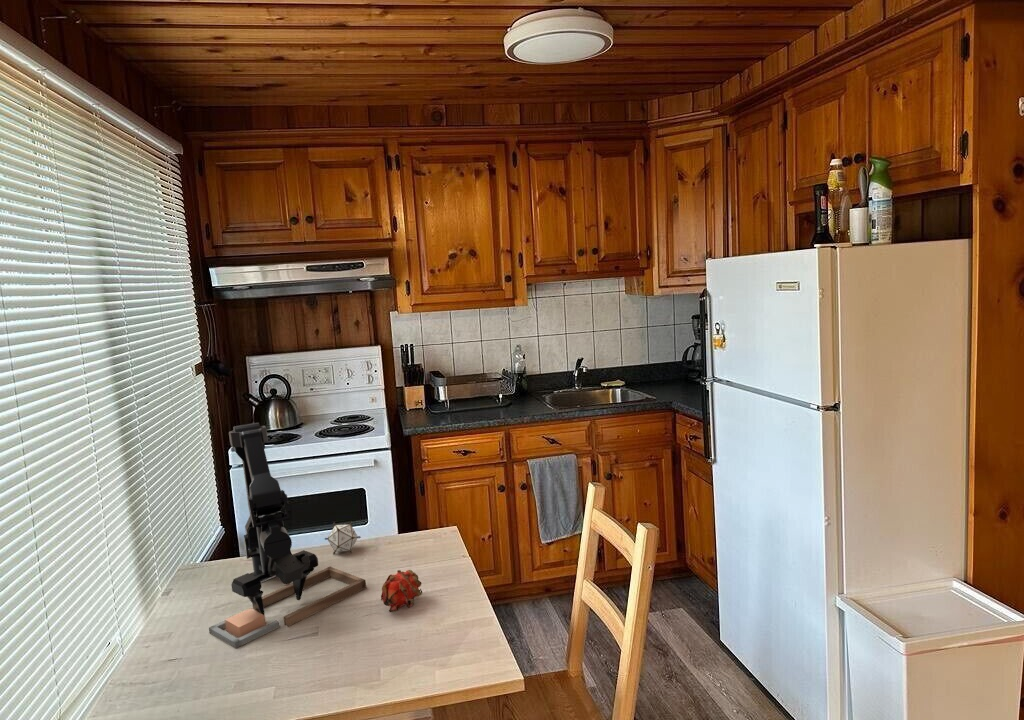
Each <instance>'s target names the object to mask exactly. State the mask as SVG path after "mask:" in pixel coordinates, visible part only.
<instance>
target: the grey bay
mask: <svg viewBox="0 0 1024 720" xmlns="http://www.w3.org/2000/svg"><path fill="white" fill-rule="evenodd" d="M251 609H253V607H251ZM253 610H255V609H253ZM280 627H281V626H280V621H279V620H277V619H276V620H275V619H274V620H273V621H272V622H269V623H266V625H265V626H263V627H261V628H259V629H256V630H254V631H252V632H250V633H248V634H246V635H244V636H242V637H240V638H238V637H236V636H234V635H232V634H231V633H229V632H227V631H225V630H224V629H226V624H225V619H224V620H222V621H220V622H218V623H215V624H213V625H212V626H209V627H208V631H209V633H210V635H213V636H214V637H216V638H218V639H219V640H221V641H223V642H225V643H226V644H228V645H229V646H231V647H233V648H235V649H237V648H239V647H241V646H244V645H245V644H247V643H249V642H251V641H254V640H256V639H258V638H260V637H262V636H264V635H266V634H268V633H270V632H272V631H274V630H276V629H278V628H280Z"/></svg>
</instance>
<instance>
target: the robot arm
mask: <svg viewBox="0 0 1024 720" xmlns="http://www.w3.org/2000/svg"><path fill="white" fill-rule="evenodd" d="M267 432H268V431H267V426H265V425H261V426H260V422H253V423H247V424H240V425H236V426H235V425H234V426H233V430H231V431H229V432H228V436H229V444H230V446H231V447H232V448H233V450H234V452H235V453H236V455H237V456H238V457H239V458H240V459H241V463H242V467H243V468H242V469H243V475H244V482H245V490H246V495H247V505H248V511H249V517H248V519H247V521H246V524H245V526H244V530H245V531H244V532H245V534H243V549H244V554H245V556H246V559H247V560H248V559H250V558H251V562H252V568H253V569H252V570H253V571H252V572H251V573H245V574H242V575H240V576H238V577H235V578H233V579H232V582H231V585H230V586H231V590H232V592H233V593H234V594H237V595H239V596H241V597H243V598H248V599H249V601H250V603H251V604H252V606H253V605H254V607H255V608H256V611H257V612H259V613H261V614H263V615H265V609H264V608H265V607H263V601H262V597H263V594H264V591H263V590H261V589H262V584H263V583H265V582H267V581H269V580H271V579H274V578H278V579H279V581H280V582H281V584H283V585H290V584H292V583H293V587H294V592H295V593H294V595H295V599H296V600H297V601H301V598H302V595H303V591H304V589H303V587H304V583H305V580H306V577H308V576H310V575H311V573H312V572H314V571H315V568H317V567H318V566H319V565H320V564H319V558H318V556H317V554H316V553H313V552H310V551H307V550H301V551H297V552H296V553H292V552H291V549H292V543H293V542H292V541H293V540H292V538H291V536H290V535H289V533H288V530H287V529H286V527H285V525H284V521H289V520H291V518H290V514H291V513H292V512H291V511H292V510H291V507H290V501H289V497H288V495H287V494H286V492H285V490H284V489H281V486H280V483H279V481H278V480H277V479H276V478H275V477H274V476H272V474H271V472H270V468H269V463H268V460H267V459H268V458H267V456H266V452H265V448H266V446H265V445H266V444H265V443H266V442H269V438H268V433H267ZM282 510H283V511H282Z"/></svg>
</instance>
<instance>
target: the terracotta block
mask: <svg viewBox="0 0 1024 720" xmlns="http://www.w3.org/2000/svg"><path fill="white" fill-rule="evenodd" d="M251 608H252V607H251ZM251 608H247V609H245V610H244V611H243V610H242V611H241V612H238V613H237V614H234V615H232V616H229V617H228V618H225V619H224V620H225V624H226V628H225V629H226V631H225V632H227V633H229V634H230V635H232V636H234V637H236V638H240V637H242V636H244V635H246V634H248V633H250V632H252V631H254V630H256V629H259V628H261V627H263V626H265V625H267V623H266V616H265V614H264V615H263V614H261V613H259V612H258V611H257V610H256V611H255V610H253V609H251Z"/></svg>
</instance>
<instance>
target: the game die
mask: <svg viewBox="0 0 1024 720" xmlns="http://www.w3.org/2000/svg"><path fill="white" fill-rule="evenodd" d="M352 524H353V521H351V522H350V523H349V524H348V523H346V524H336V522H333V525H334V526H333V528H332V529H331V531H330V533H329V535H328V537H325V538H324V540H325V541H326V540H327V541H328V542H329V544H330V546H331V548H332V549H333V552H332V554H333V555H335V554H336V553H338V552H340V553H341V552H342V553H343V552H349V553H350V554H352V555H353V551H352V549H353V547H354V546H355V544H356V542H357V541H358V539H360V538H362V537H361V535H359V536H358V534H357V533H356V531H355V529H354V528H353V525H352Z"/></svg>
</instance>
